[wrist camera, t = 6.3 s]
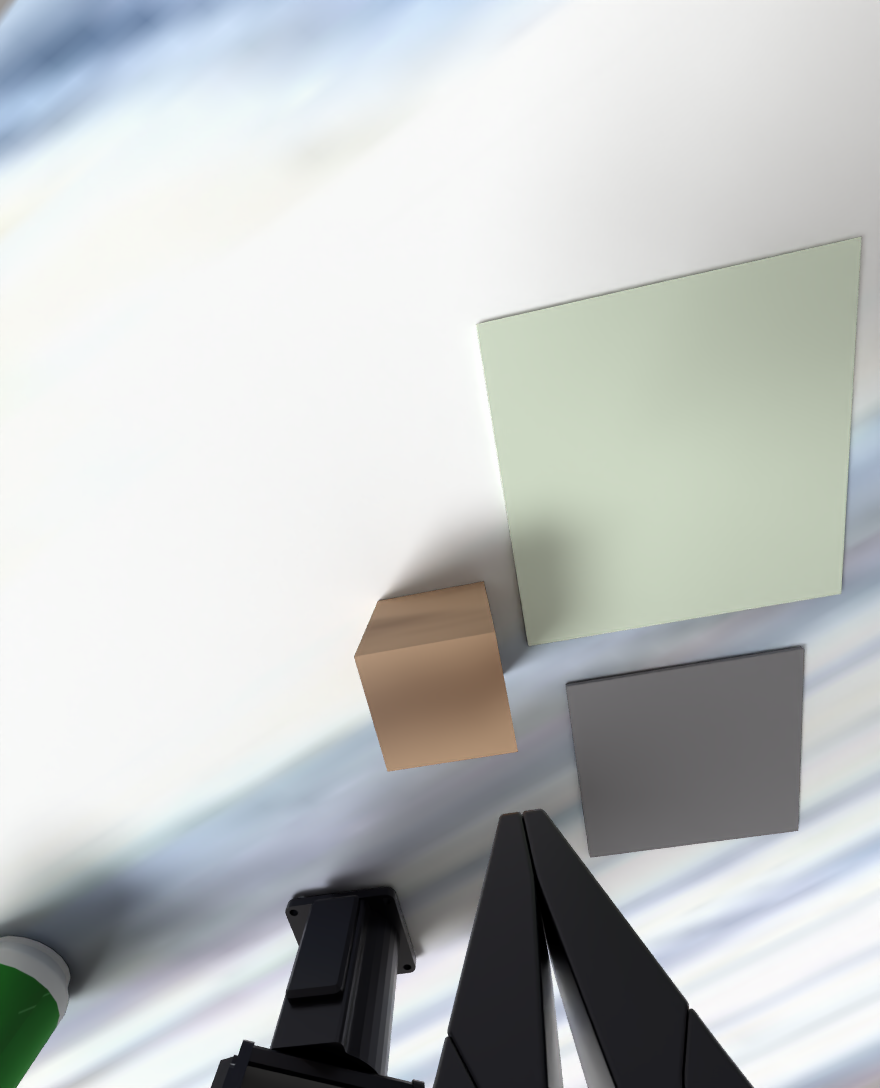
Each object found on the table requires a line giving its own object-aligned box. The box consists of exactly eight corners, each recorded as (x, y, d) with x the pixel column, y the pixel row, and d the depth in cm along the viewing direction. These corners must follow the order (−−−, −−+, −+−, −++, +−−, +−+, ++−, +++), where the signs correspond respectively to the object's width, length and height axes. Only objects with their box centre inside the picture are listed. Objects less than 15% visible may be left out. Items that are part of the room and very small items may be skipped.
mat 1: (837, 592, 18) (841, 593, 18) (527, 644, 19) (528, 646, 19) (856, 239, 15) (861, 236, 15) (476, 325, 16) (476, 324, 16)
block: (501, 674, 20) (517, 751, 15) (402, 691, 20) (387, 771, 16) (483, 580, 19) (495, 631, 14) (378, 600, 19) (354, 656, 14)
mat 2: (795, 827, 22) (798, 830, 22) (589, 853, 23) (590, 857, 23) (800, 646, 19) (804, 648, 19) (565, 684, 20) (566, 686, 20)
